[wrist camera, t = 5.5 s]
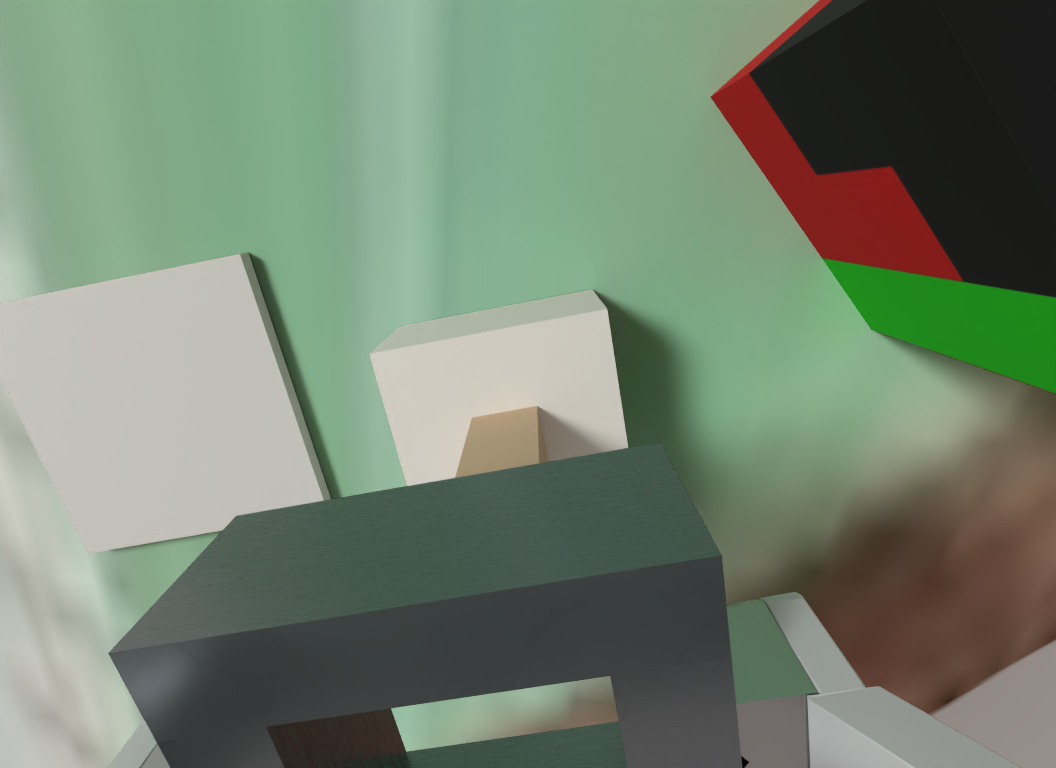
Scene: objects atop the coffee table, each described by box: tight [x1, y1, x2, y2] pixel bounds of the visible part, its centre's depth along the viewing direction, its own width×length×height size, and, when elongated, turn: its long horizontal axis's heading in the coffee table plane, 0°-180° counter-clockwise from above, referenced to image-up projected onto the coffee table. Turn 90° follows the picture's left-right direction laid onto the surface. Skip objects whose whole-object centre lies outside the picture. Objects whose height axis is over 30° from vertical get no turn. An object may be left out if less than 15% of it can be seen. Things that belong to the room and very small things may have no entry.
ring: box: [109, 442, 742, 768], centre depth 7 cm, size 6×6×2 cm
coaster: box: [0, 253, 331, 554], centre depth 21 cm, size 10×10×1 cm
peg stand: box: [370, 289, 628, 486], centre depth 17 cm, size 7×7×8 cm
